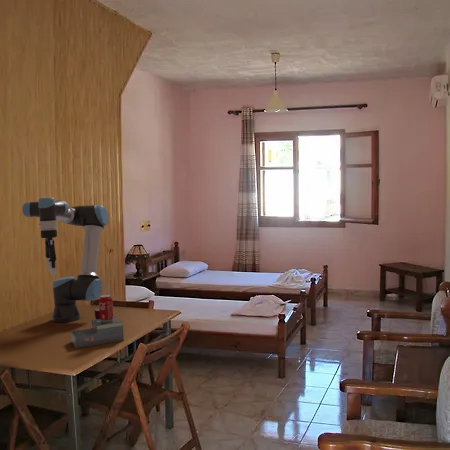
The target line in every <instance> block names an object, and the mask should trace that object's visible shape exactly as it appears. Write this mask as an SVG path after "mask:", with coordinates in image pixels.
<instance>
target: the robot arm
mask: <svg viewBox="0 0 450 450" xmlns="http://www.w3.org/2000/svg"><path fill="white" fill-rule="evenodd" d="M21 208H22V209H21V211H22V215H23V216H24V217H27V218H33V217H34V218H39V223H38V225H39V227H40V238H41V239H44V240H45V241H44V244H45V250H44V251H45V260H46V271H47V272H50V276H54V275H58V273H57V255H56V247H55V240H54V239H53V238H56V237H58V230H57V228H58V226H57V225H58V224H57V221H60V223H63V224H66V225H70V226H71V225H72V226H76V227H82V229H83V230H84V236H83V237H84V238H83V246H82V255H81V265H80V266H81V267H80V273H78V274H77V278H75V276H73V275H72V276H65V277H60V278H57V279H55V280H53V283H52V289H53V290H52V291H53V302H54V303H53V305H54V308H53V311H52V317H51V320H52V322H55V323H69V322H73V321H77V320H79V319H81V312H80V310H79V308H78V305H77V301H87V302H91V301H97V300H99V298H100V296H101V294H102V291H103V282H102V280H101V279H100V275H98V262H99V252H100V251H99V250H100V241H101V233H102V231H104V227H105V226H107V225H108V224H109V214H108V210H107V208H106V207H105V206H103V205H101V204H94V205H92V204H91V205H77V206H70V205H69V203H68V202H66V201H65V200H61V199H60V200H59V199H58V200H55V198H54V197H40V198H38V201H28V202H24V203H23V205H22V207H21Z"/></svg>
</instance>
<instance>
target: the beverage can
mask: <svg viewBox="0 0 450 450" xmlns="http://www.w3.org/2000/svg"><path fill="white" fill-rule="evenodd" d="M113 302H114V301H113V297H112V296H111V294H102V295H100V297H99V298H98V308H99V311H100V320H101V321H102V322H109V321H112V320H113V318H114V317H115V316H114V306H113V305H114V304H113Z"/></svg>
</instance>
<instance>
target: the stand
mask: <svg viewBox="0 0 450 450" xmlns="http://www.w3.org/2000/svg"><path fill="white" fill-rule="evenodd" d="M70 335H71V336H70V339H71V343H72V344H73V346H74V347H75V349H80V348H86V347H92V346H97V345H103V344H104V345H105V344H110V343H116V342H121V341H123V342H124V340H125V337H124V322H123V320H122V319H120V318H119V317H118V316H114V318H113V320H112V321H109V322H102V321H101V320H100V319H96V318H94V319H91V328H86V329H78V330H72V331H70Z"/></svg>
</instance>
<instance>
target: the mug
mask: <svg viewBox="0 0 450 450" xmlns="http://www.w3.org/2000/svg"><path fill="white" fill-rule="evenodd" d="M94 316H95V317H94V319H100V311H99V307H98V308H95V309H94Z"/></svg>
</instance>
